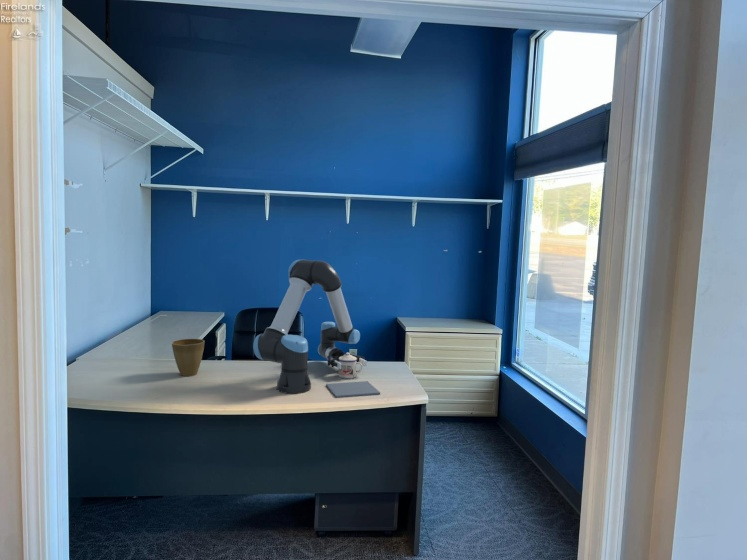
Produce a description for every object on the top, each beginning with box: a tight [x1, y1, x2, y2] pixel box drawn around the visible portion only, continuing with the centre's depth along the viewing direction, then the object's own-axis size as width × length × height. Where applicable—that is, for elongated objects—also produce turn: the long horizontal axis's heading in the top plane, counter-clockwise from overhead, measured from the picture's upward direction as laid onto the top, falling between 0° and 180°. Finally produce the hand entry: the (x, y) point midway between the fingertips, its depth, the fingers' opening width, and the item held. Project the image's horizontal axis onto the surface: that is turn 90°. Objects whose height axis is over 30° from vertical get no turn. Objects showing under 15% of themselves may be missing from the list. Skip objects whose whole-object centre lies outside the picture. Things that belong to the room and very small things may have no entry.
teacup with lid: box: [338, 352, 363, 379], centre depth 258 cm, size 12×9×12 cm
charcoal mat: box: [325, 380, 381, 399], centre depth 237 cm, size 20×18×1 cm
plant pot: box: [171, 338, 205, 377], centre depth 253 cm, size 15×15×16 cm
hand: (353, 365), depth 255 cm, fingers open, 13 cm apart
